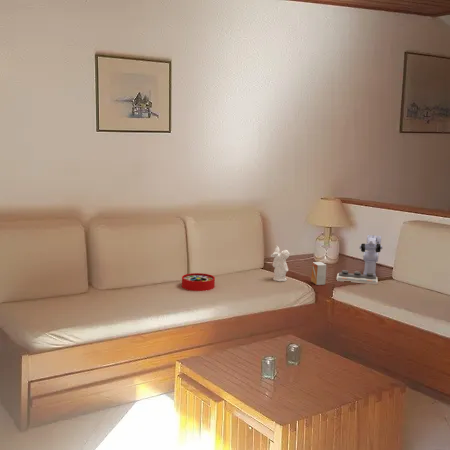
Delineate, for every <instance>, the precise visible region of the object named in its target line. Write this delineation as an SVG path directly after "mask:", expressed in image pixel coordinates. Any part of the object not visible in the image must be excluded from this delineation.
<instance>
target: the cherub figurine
mask: <svg viewBox="0 0 450 450" xmlns="http://www.w3.org/2000/svg"><path fill="white" fill-rule="evenodd" d="M290 255H291V254H290V252H289V250H287V249H284V250H282V251H281V252H280V247H279V246H278V245H277V244H276V245H275V248H274V251H273V253H271V254H270V257H271V258H273V262H272V267H273V268H274V269H273V273H274V277H273V278H272V280H273V281H275V282H287V279H288V278H286V274H287V272H289V267H288V264H287V261H286V260H287V259H288V258H289V257H290Z"/></svg>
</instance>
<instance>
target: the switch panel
mask: <svg viewBox="0 0 450 450" xmlns="http://www.w3.org/2000/svg"><path fill="white" fill-rule="evenodd" d="M363 274H364V273H361V275H358V274H354V273H351V272H348V274H347V273H342V271H339V272H338V273H337V275H336V278H335V279H336V280H337V282H344V281H351V282H350V283H355V284H356V283H359V284H368V285H378V284H379V281H378V280H379V279H378V276H377V275H376V276H374V275H373V276H369V275H363ZM336 280H335V281H336Z"/></svg>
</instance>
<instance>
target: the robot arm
mask: <svg viewBox="0 0 450 450" xmlns="http://www.w3.org/2000/svg"><path fill="white" fill-rule="evenodd" d="M381 244H382V235H375V234H367V236H366V243H361V244H360V245H359V249H360V251H361V253H363V255H362V256H363V257H362V259H363V261H364V270H363V273H362V274H363V275H367V272H368V273H373V275H374V276H376V277H377V275H376V268H377V267H376V266H377V263H378V262H379V253H381V250H383V245H381Z"/></svg>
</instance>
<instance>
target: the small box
mask: <svg viewBox="0 0 450 450" xmlns="http://www.w3.org/2000/svg"><path fill="white" fill-rule="evenodd" d="M326 278H327V264H326V263H324V262H322V261H313V262H312V264H311V278H310V282H311V283H313V284H315V286H321V285H322V286H323V285H326Z"/></svg>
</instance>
